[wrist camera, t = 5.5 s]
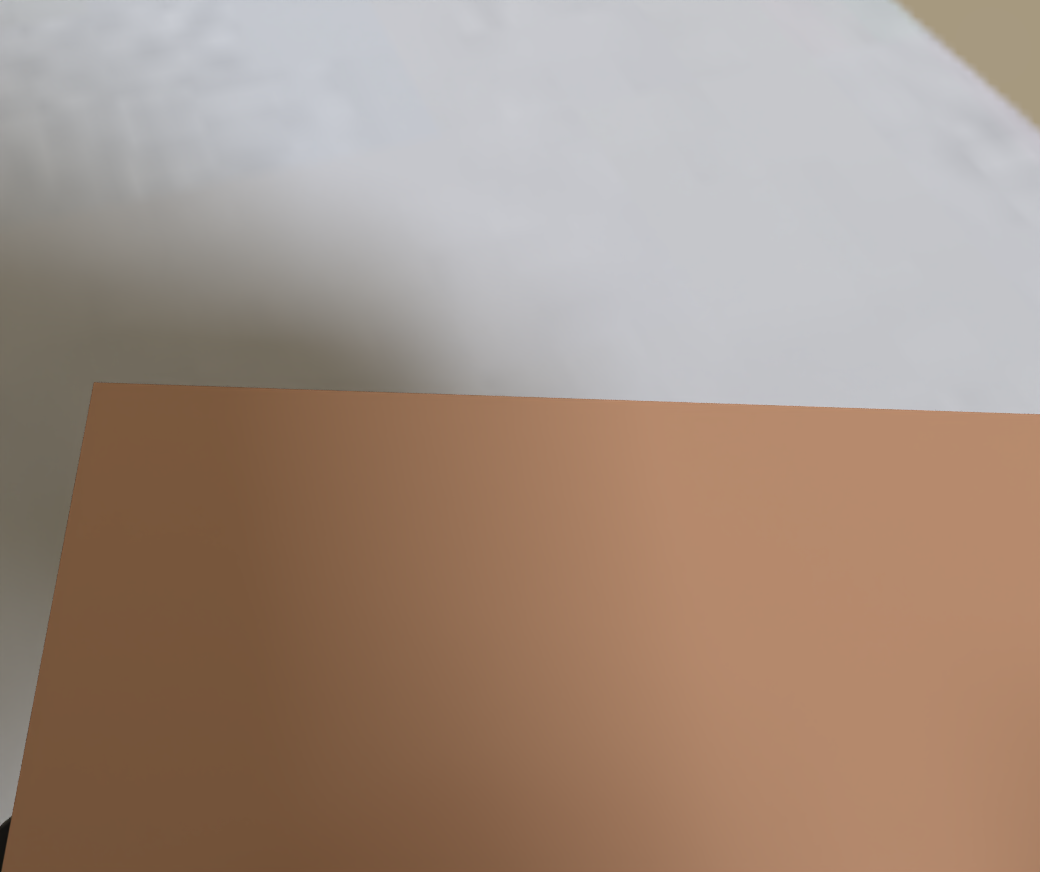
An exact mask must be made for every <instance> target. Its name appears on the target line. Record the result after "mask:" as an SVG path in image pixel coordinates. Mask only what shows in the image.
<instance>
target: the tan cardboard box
mask: <svg viewBox="0 0 1040 872" xmlns="http://www.w3.org/2000/svg"><path fill="white" fill-rule="evenodd" d="M1 872H1040V414H1012V413H983V412H953V411H924V410H894V409H865V408H835V407H806V406H776V405H747V404H717V403H688V402H658V401H629V400H599V399H570V398H540V397H511V396H481V395H452V394H422V393H393V392H363V391H334V390H304V389H275V388H245V387H216V386H186V385H157V384H127V383H98V382H94V384H93V389H92V395H91V400H90V405H89V411H88V416H87V421H86V427H85V432H84V437H83V442H82V448H81V453H80V458H79V464H78V469H77V474H76V479H75V485H74V490H73V495H72V501H71V506H70V511H69V517H68V522H67V527H66V532H65V538H64V543H63V548H62V554H61V559H60V564H59V569H58V575H57V580H56V585H55V591H54V596H53V601H52V607H51V612H50V617H49V622H48V628H47V633H46V638H45V644H44V649H43V654H42V659H41V665H40V670H39V675H38V681H37V686H36V691H35V696H34V702H33V707H32V712H31V718H30V723H29V728H28V734H27V739H26V744H25V749H24V755H23V760H22V765H21V771H20V776H19V781H18V786H17V792H16V797H15V802H14V808H13V813H12V818H11V824H10V829H9V834H8V839H7V845H6V850H5V855H4V861H3V866H2V871H1Z"/></svg>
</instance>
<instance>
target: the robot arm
mask: <svg viewBox="0 0 1040 872" xmlns="http://www.w3.org/2000/svg"><path fill="white" fill-rule="evenodd" d="M11 818H12V816H11V817H10V818H9V819H8V820H6V821H5V822H4V823H3V824H2V825H1V826H0V872H1V871H2V866H3V861H4V855H5V850H6V845H7V839H8V834H9V829H10V824H11Z"/></svg>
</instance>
